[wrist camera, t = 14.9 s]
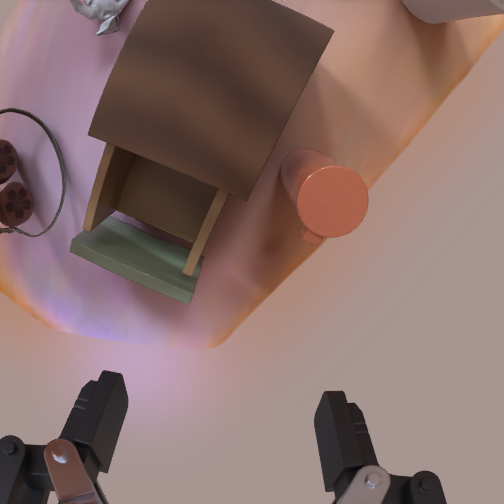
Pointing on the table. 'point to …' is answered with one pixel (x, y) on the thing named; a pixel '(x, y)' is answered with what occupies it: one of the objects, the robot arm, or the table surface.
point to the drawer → (148, 222)
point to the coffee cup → (452, 9)
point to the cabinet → (209, 86)
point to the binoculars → (20, 184)
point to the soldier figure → (102, 13)
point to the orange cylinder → (323, 194)
